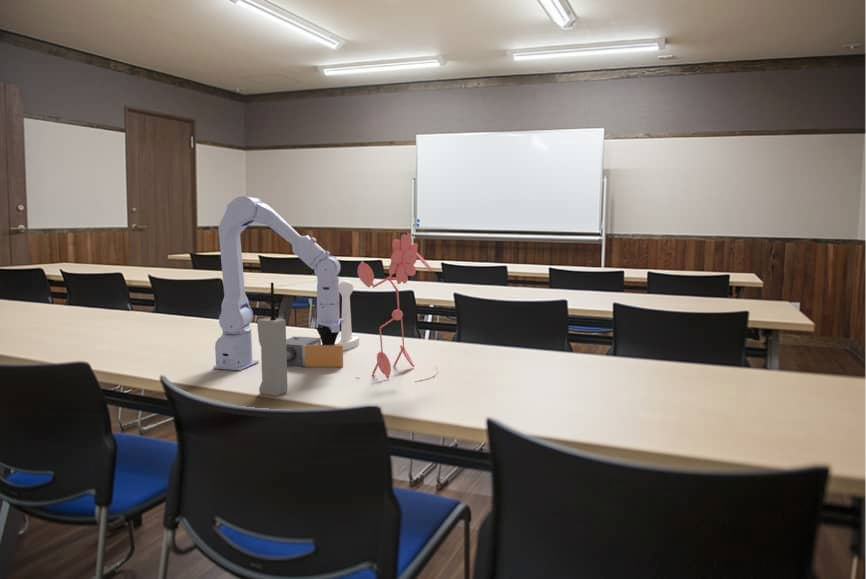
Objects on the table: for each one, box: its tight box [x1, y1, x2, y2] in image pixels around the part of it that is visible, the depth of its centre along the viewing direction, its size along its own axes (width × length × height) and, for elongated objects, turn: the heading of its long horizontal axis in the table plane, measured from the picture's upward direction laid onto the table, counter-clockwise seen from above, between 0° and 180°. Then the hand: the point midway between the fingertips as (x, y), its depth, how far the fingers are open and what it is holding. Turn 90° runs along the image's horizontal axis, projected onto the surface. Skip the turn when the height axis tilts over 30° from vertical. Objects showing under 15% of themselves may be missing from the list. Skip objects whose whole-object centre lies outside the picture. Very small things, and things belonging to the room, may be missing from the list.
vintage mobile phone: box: [256, 282, 289, 397], centre depth 142 cm, size 4×5×25 cm
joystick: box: [335, 279, 360, 352], centre depth 189 cm, size 11×8×20 cm
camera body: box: [286, 335, 322, 367], centre depth 173 cm, size 12×8×6 cm
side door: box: [302, 344, 344, 368], centre depth 167 cm, size 10×1×6 cm, turn 90°
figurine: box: [355, 233, 439, 383], centre depth 158 cm, size 15×26×35 cm, turn 148°
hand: (328, 354), depth 168 cm, fingers closed, pressing on side door
